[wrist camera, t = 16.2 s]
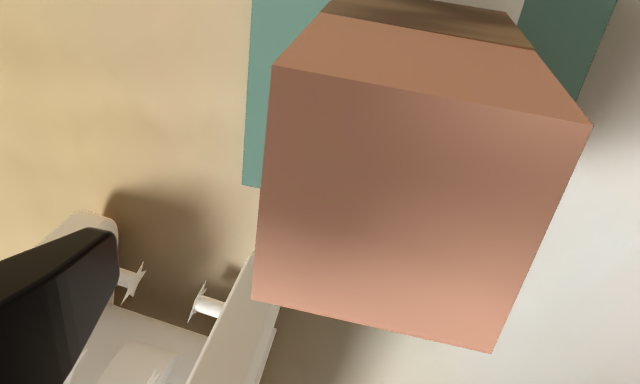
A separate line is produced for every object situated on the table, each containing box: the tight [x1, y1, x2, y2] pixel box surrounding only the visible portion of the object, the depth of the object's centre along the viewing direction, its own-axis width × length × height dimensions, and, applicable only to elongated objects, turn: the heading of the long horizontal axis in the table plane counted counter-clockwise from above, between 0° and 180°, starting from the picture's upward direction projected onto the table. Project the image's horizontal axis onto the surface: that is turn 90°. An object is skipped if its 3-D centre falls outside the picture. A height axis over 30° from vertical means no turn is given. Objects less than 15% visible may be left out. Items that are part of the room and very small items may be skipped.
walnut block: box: [319, 0, 535, 51], centre depth 16 cm, size 6×6×5 cm
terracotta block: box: [251, 12, 594, 354], centre depth 12 cm, size 6×6×5 cm
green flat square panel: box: [242, 0, 617, 188], centre depth 19 cm, size 12×12×1 cm
